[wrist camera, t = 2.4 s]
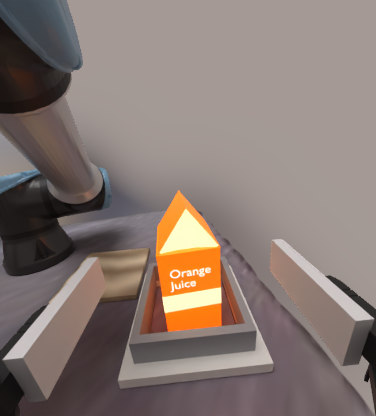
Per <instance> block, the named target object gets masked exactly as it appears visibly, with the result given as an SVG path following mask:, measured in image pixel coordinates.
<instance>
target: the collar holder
mask: <svg viewBox="0 0 376 416" xmlns="http://www.w3.org/2000/svg"><path fill="white" fill-rule="evenodd" d="M220 279H221V281H222V284H223V287H224V290H225V293H226V296H227V299H228V303H229V306H230V309H231V312H232V315H233V318H234V321H235V325H226V326H217V327H207V328H198V329H189V330H179V331H170V332H160V333H151V334H150V330H151V323H152V317H153V310H154V304H155V297H156V291H157V287H160V286H161V284H160V277H159V271H158V265H157V263H149V266H148V270H147V273H146V274H145V278H144V282H143V285H142V289H141V293H140V297H139V301H138V305H137V309H136V312H135V316H134V320H133V324H132V328H131V332H130V335H129V339H128V343H127V347H126V351H125V355H124V359H123V362H122V366H121V370H120V374H119V378H118V383H119V386H120V389H123V388H132V387H141V386H150V385H159V384H167V383H176V382H185V381H194V380H203V379H211V378H220V377H229V376H238V375H247V374H255V373H264V372H272V370H273V361H272V359H271V357H270V355H269V352H268V350H267V348H266V345H265V343H264V341H263V339H262V336H261V334H260V332H259V330H258V327H257V325H256V323H255V321H254V318H253V316H252V314H251V311H250V309H249V307H248V305H247V302H246V300H245V298H244V296H243V293H242V291H241V289H240V286H239V284H238V282H237V280H236V277H235V275H234V273H233V271H232V268H231V266H230V265H228V262H227V260H226V258H225V256H220Z"/></svg>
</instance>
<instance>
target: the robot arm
mask: <svg viewBox="0 0 376 416" xmlns="http://www.w3.org/2000/svg"><path fill="white" fill-rule="evenodd" d="M82 64H83V61H82V54H81V49H80V45H79V41H78V38H77V34H76V30H75V26H74V23H73V19H72V16H71V13H70V11H69V7H68V4H67V0H0V132H1V134H2V135H3V136H5V138H6V139H8V141H9V142H11V144H12V145H13V146H14V147H15V148H17V150H19V152H20V153H21V154H22V155H23V156H24V157H25V158H26V159H27V160H28V161H29V162H30V163H31V164H32V165H34V167H35V168H36V169H35V170H30V171H25V172H21V173H16V174H11V175H7V176H2V177H0V237H1V239H2V241H3V254H4V259H3V267H4V268H5V270H6V272H7V273H8V274H9V275H25V274H30V273H34V272H37V271H40V270H43V269H46V268H48V267H51V266H53V265H55V264H57V263H59V262H60V261H62V260H64V259H65V258H67V257H68V256H69V255H70V254H71V253H72V252H73V251H74V248H75V247H74V243H73V241H72V239H71V238H70V237H69V236H68V235H67V234H66V232H65V231H64V230H63V229H62V227H61V226H60V225H59V222H58V220H57V218H59V217H64V216H69V215H75V214H80V213H86V212H91V211H96V210H102V209H105V208H108V207H110V206H111V204H112V195H111V187H110V181H109V177H108V174H107V172H106V170H105V169H104V168H97V167H96V166H95V165H93V164H92V163H90V161H89V159H88V156H87V153H86V151H85V148H84V145H83V143H82V140H81V138H80V135H79V132H78V130H77V127H76V125H75V122H74V119H73V117H72V114H71V111H70V109H69V106H68V103H67V101H66V98H65V95H66V94H67V92H68V90H69V88H70V85H71V80H72V77H71V72H73V71H74V70H79V69H80V68H81V67H82ZM270 271H271V272H272V274H273V275H274V277H275V278H276V279H277V281H278V282H279V283H280V285H281V286H282V287H283V289H284V290H285V291H286V292H287V293H288V295H289V296H290V298H291V299H292V300H293V302H294V303H295V304H296V306H297V307H298V308H299V310H300V311H301V312H302V314H303V315H304V316H305V318H306V319H307V320H308V322H310V324H311V326H312V327H313V328H314V330H315V331H316V332H317V334H318V335H319V336H320V338H321V339H322V340H323V341H324V343H325V344H326V345H327V347H328V348H329V349H330V351H331V352H332V353H333V355H334V356H335V357H336V359H337V360H338V361H339V363H340V364H341V365H342V366H348V365H356V364H359V361H360V359H361V356H362V355H363V357H364V358H365V359H366V360H367V361H368V362H369V363H370V364H369V366H368V369H367V371H366V374H365V378H364V381H366V382H368V380H369V378H370V383H371V388H372V395H373V401H374V408H375V415H376V309H375V308H373V307H372V306H371V305H370V304H369V303H367V302H366V301H365V300H364V299H362V298H361V297H360V296H358V295H357V294H356V293H355V292H354V291H353V290H350V288H349V287H347V286H346V285H345V284H344V283H343V282H341V281H340V280H338V279H336V278H334V277H332V276H324V275H323V274H322V273H321V272H320V271H318V270H317V269H316V268H315V267H314V266H312V265H311V264H310V263H309V262H308V261H307V260H306V259H305V258H303V257H302V256H301V255H300V254H299V253H298V252H296V251H295V250H294V249H293V248H292V247H291V246H289V245H288V244H287V243H286V242H285V241H283V239H277V240H272V247H271V259H270ZM106 287H107V286H106V283H105V279H104V276H103V272H102V269H101V265H100V262H99V258H98V257H94V258H87V260H86V261H85V262H84V263H83V264H82V266H81V267H80V268H79V269H78V270H77V272H76V273H75V274H74V275H73V276H72V277H71V279H70V280H69V281H68V282H67V283H66V285H65V286H64V287H63V288H62V289H61V291H60V292H59V293H58V294H57V295H56V297H55V298H54V299H53V300H52V301H51V303H50V304H49V305H47V306H43V307H41V308H40V309H39V310H38V311H36V312H35V313H34V314H33V315H32V316H31V317H30V318H29V319H28V320H27V321H26V323H25V324H24V326H22V327H21V328H20V329H19V330H18V332H17V334H15V335H14V336H13V337H12V338H11V339H10V341H9V342H8V343H7V344H6V345H5V346H4V347H3V349H2V350H1V351H0V416H20V410H19V407H18V405H17V404H18V403H19V401H20V400H21V398H22V396H23V395H25V397H26V398H27V400H28V402H37V401H46V400H47V399H48V398H49V396H50V394H51V392H52V390H53V388H54V386H55V384H56V382H57V380H58V379H59V377H60V375H61V373H62V371H63V369H64V367H65V365H66V363H67V361H68V359H69V358H70V356H71V354H72V352H73V350H74V348H75V346H76V344H77V342H78V340H79V338H80V337H81V335H82V333H83V331H84V329H85V327H86V325H87V323H88V321H89V319H90V318H91V316H92V314H93V312H94V310H95V308H96V306H97V304H98V302H99V300H100V298H101V297H102V295H103V293H104V291H105V289H106Z"/></svg>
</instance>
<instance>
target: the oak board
mask: <svg viewBox="0 0 376 416" xmlns="http://www.w3.org/2000/svg"><path fill="white" fill-rule="evenodd" d="M149 252H150V249H149V248H142V249H131V250H121V251H110V252H99V253H90V254H89V255H88V256H87V257H86V259H85V260H84V261H83V262H82V263H81V265H80V266H79V267H78V268H77V269H76V270H75V272H74V273H73V274H72V275H71V276H70V278H69V279H68V280H67V281H66V282H65V284H64V285H63V286H62V287H61V288H60V290H59V291H58V292H57V293H56V294H55V296H54V297H53V298H52V299H51V300H50V302H49V303H48V305H49V304H50V303H51V301H52V300H53V299H54V298H55V297H56V295H57V294H58V293H59V292H60V291H61V289H62V288H63V287H64V286H65V285H66V283H67V282H68V281H69V280H70V279H71V277H72V276H73V275H74V274H75V273H76V272H77V270H78V269H79V268H80V267H81V266H82V264H83V263H84V262H85V261H86V260H87V258H94V257H98V258H99V262H100V265H101V269H102V272H103V276H104V279H105V283H106V286H107V287H106V289H105V291H104V293H103V295H102V297H101V298H100V300H99V302H98V303H100V302H110V301H120V300H130V299H137V296H138V292H139V289H140V285H141V282H142V278H143V274H144V271H145V267H146V263H147V260H148V256H149Z"/></svg>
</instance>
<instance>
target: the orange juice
mask: <svg viewBox="0 0 376 416" xmlns="http://www.w3.org/2000/svg"><path fill="white" fill-rule="evenodd" d="M220 248H221V247H219V244H218V242H217V240H216V239H215V237H214V235H213V234H212V232H211V230H210V229H209V227H208V225H207V224H206V222H205V220H204V219H203V218H202V217H201V216H200V215H199V213H198V212H197V211H196V210H195V209H194V208H193V207H192V205H191V204H190V203H189V202H188V201H187V200H186V199H185V197H184V196H183V195H182V194H181V193H180V192H179V191H178V192H177V194H176V196H175V198H174V199H173V201H172V203H171V205H170V206H169V208H168V210H167V212H166V213H165V215H164V217H163V219H162V220H161V222H160V224H159V225H158V230H157V247H156V259H157V265H158V271H159V277H160V284H161V290H162V298H163V305H164V311H165V315H166V321H167V327H168V332H170V331H179V330H189V329H198V328H207V327H217V326H221V279H220Z"/></svg>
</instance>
